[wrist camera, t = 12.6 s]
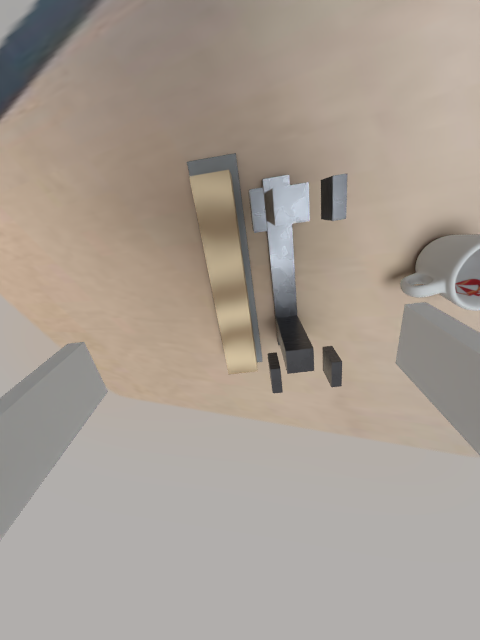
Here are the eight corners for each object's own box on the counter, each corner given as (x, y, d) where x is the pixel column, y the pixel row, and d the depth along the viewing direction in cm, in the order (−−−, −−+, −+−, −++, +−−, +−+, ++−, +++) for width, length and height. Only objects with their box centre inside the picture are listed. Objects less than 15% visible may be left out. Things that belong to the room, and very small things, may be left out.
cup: (389, 305, 35) (427, 330, 28) (379, 252, 32) (418, 265, 25) (471, 276, 34) (534, 295, 26) (468, 217, 31) (538, 220, 23)
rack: (245, 182, 29) (246, 165, 17) (305, 172, 29) (348, 148, 17) (264, 343, 38) (274, 404, 26) (310, 337, 38) (341, 397, 26)
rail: (197, 181, 29) (189, 176, 24) (231, 175, 29) (229, 169, 24) (230, 354, 39) (228, 374, 34) (255, 351, 38) (257, 371, 34)
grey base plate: (187, 162, 28) (186, 161, 28) (235, 154, 28) (235, 153, 28) (227, 364, 40) (227, 365, 40) (262, 360, 40) (262, 361, 39)
